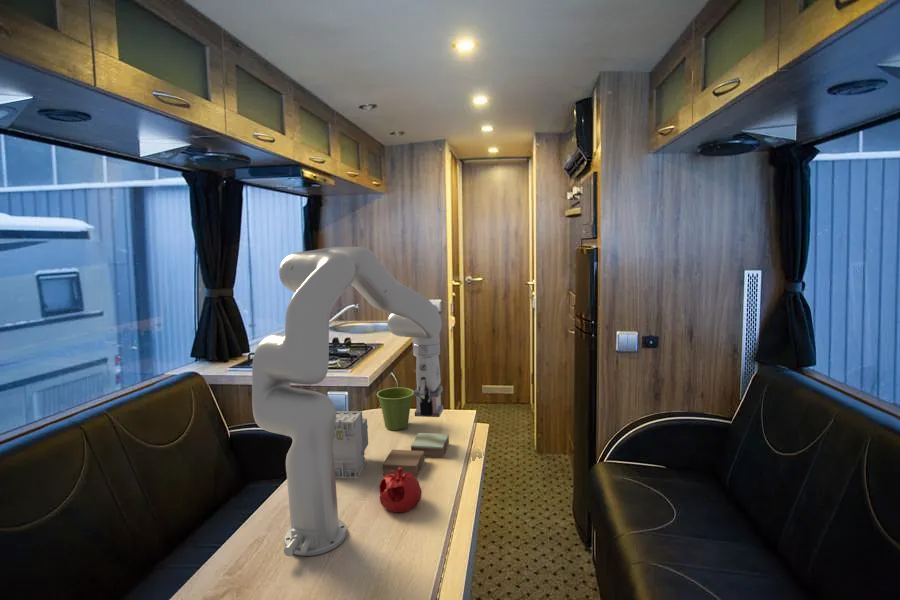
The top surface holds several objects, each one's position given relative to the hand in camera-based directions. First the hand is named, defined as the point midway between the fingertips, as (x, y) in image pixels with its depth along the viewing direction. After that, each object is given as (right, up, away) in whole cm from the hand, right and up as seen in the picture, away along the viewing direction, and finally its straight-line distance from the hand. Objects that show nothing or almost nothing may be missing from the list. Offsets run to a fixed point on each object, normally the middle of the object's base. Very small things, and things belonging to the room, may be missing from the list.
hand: (429, 410), depth 150 cm
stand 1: (-6, -13, -9) cm, 17 cm away
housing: (0, -1, 0) cm, 1 cm away
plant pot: (-11, -10, +20) cm, 25 cm away
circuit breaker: (-21, -14, -6) cm, 26 cm away
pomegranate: (-6, -16, -27) cm, 32 cm away
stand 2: (0, -12, +2) cm, 12 cm away
